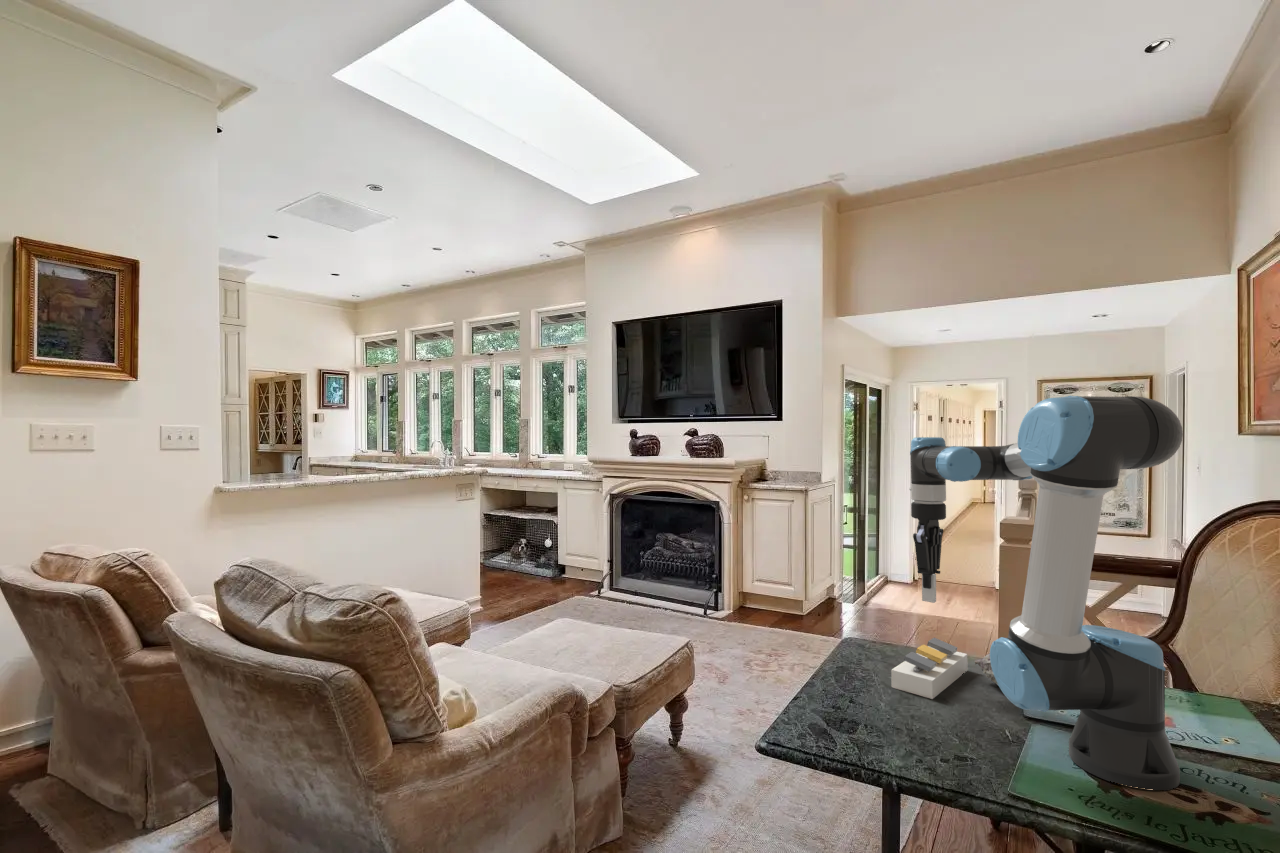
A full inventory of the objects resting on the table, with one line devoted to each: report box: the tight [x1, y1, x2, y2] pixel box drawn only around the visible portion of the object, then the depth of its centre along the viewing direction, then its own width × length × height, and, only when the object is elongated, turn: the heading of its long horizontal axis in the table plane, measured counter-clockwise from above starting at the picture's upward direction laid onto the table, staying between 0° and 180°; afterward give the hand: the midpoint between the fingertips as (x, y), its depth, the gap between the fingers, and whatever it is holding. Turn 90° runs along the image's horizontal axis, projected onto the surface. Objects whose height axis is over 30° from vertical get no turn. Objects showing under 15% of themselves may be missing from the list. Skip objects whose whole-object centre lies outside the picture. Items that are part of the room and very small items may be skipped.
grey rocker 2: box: [926, 637, 958, 656], centre depth 150 cm, size 6×4×1 cm
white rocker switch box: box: [890, 646, 968, 700], centre depth 147 cm, size 9×28×5 cm, turn 135°
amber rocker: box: [915, 644, 947, 663], centre depth 146 cm, size 6×4×1 cm
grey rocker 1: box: [903, 651, 936, 672], centre depth 141 cm, size 6×4×1 cm
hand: (929, 601), depth 146 cm, fingers closed
